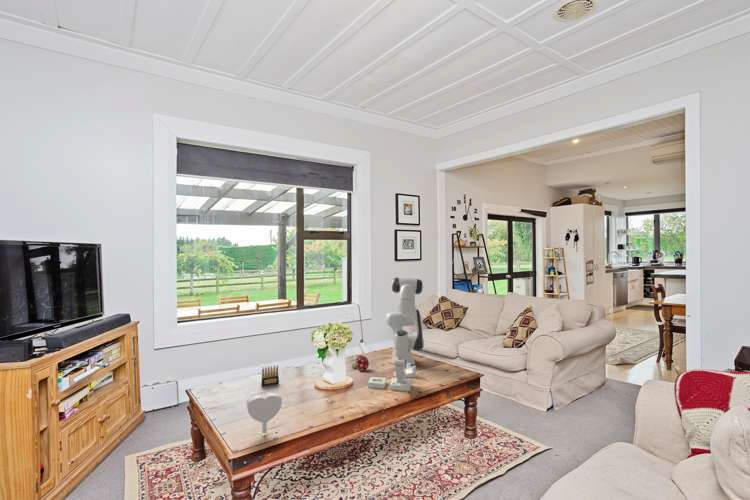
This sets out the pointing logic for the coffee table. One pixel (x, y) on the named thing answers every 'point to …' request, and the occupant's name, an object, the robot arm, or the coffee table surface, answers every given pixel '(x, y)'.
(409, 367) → the bracket
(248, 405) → the heart sculpture
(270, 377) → the ammunition clip
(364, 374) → the coffee table surface
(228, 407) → the coffee table surface
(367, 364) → the dark red lumpy cluster
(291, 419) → the coffee table surface
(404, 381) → the plug
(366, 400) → the coffee table surface
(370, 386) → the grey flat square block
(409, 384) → the port
